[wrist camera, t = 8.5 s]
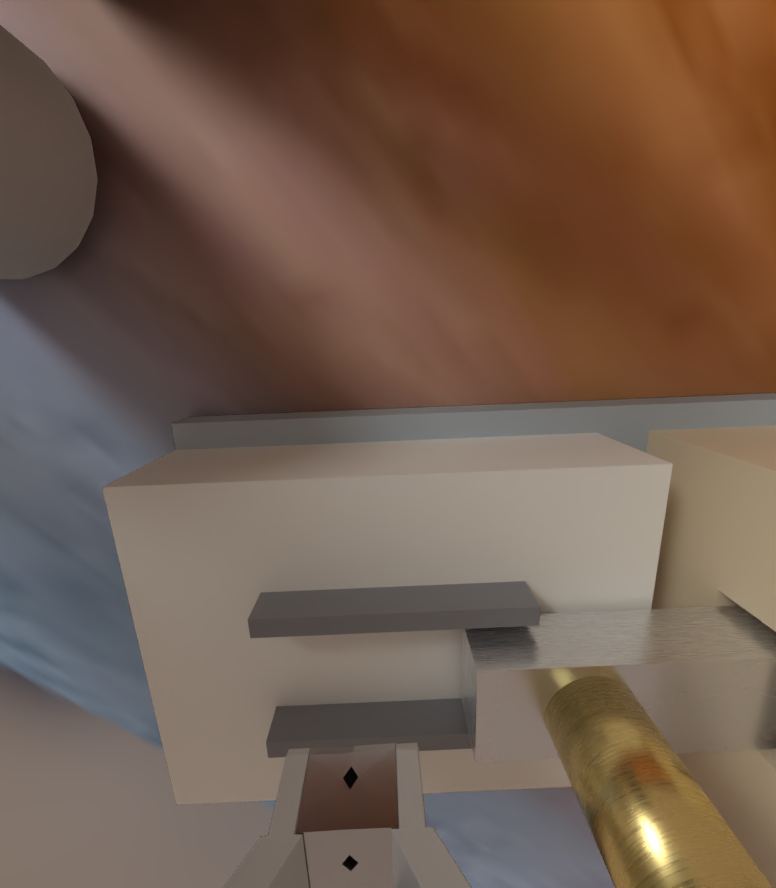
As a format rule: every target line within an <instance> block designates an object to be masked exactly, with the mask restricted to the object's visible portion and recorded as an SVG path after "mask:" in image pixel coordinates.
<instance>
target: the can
mask: <svg viewBox="0 0 776 888" xmlns="http://www.w3.org/2000/svg"><path fill="white" fill-rule="evenodd" d="M97 182H98V178H97V172H96V166H95V160H94V153H93V147H92V141H91V137H90V135H89V133H88V131H87V128H86V126H85V124H84V122H83V119H82V117H81V115H80V113H79V110H78V108H77V106H76V104H75V102H74V99H73V98H72V96H71V95H70V94H69V92H68V91H67V90H66V89H65V87H64V86H63V85H62V83H61V82H60V81H59V80H58V78H57V77H56V76H55V75H54V73H53V72H52V71H51V69H50V68H49V67H48V66H47V64H46V63H45V62H44V61H43V60H42V59H40V58H39V57H38V56H37V55H36V54H34V53H33V52H32V51H31V50H30V49H28V48H27V47H26V46H25V45H24V44H23V43H21V42H20V41H19V40H18V39H17V38H15V37H14V36H13V35H12V34H11V33H9V32H8V31H7V30H6V29H5V28H3V27H2V26H1V25H0V279H27V278H30V277H33V276H35V275H38V274H41V273H43V272H46V271H49V270H51V269H54V268H56V267H57V266H58V265H59V264H60V263H61V262H62V261H63V260H64V259H66V258H67V257H68V256H69V255H70V254H71V253H72V252H73V251H74V250H75V249H76V248H78V246H79V244H80V242H81V240H82V238H83V236H84V234H85V232H86V230H87V228H88V226H89V224H90V222H91V220H92V218H93V214H94V206H95V198H96V190H97Z"/></svg>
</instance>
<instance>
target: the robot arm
mask: <svg viewBox="0 0 776 888" xmlns="http://www.w3.org/2000/svg"><path fill="white" fill-rule="evenodd" d="M396 768H397V769H396ZM223 888H472V887H471V886H470V884H469V883H468V881H467V880H466V878H465V876H464V875H463V873H462V872H461V870H460V869H459V867H458V865H457V864H456V862H455V861H454V859H453V857H452V856H451V854H450V853H449V851H448V850H447V848H446V846H445V845H444V843H443V842H442V840H441V839H440V837H439V835H438V834H437V832H436V831H435V829H434V827H426V819H425V809H424V798H423V788H422V778H421V768H420V757H419V748H418V744H417V742H416V743H401V744H396V748H395V743H389V744H375V745H360V746H353V747H333V748H298V749H289V750H288V753H287V755H286V757H285V761H284V766H283V770H282V775H281V779H280V783H279V788H278V792H277V797H276V801H275V805H274V810H273V814H272V819H271V824H270V827H269V832H268V836H260V838H259V839H258V840H257V842H256V843H255V845H254V846H253V847H252V849H251V850H250V851H249V853H248V854H247V855H246V857H245V858H244V860H243V861H242V862H241V863H240V865H239V866H238V868H237V869H236V870H235V872H234V873H233V874H232V876H231V877H230V878H229V880H228V881H227V882H226V884H225V885H224V887H223Z"/></svg>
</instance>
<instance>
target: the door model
mask: <svg viewBox="0 0 776 888" xmlns="http://www.w3.org/2000/svg"><path fill="white" fill-rule="evenodd" d="M171 427H172V432H173V438H174V444H175V449H176V450H174V451H172V452H170V453H168V454H166V455H165V456H163V457H161V458H159V459H157V460H155V461H153V462H151V463H149V464H147V465H145V466H143V467H141V468H139V469H137V470H135V471H133V472H131V473H129V474H127V475H125V476H123V477H121V478H120V479H118V480H116V481H114V482H112V483H110V484H108V485H106V486H104V487H102V489H103V494H104V498H105V502H106V506H107V511H108V515H109V519H110V524H111V528H112V532H113V536H114V541H115V545H116V549H117V553H118V558H119V562H120V566H121V570H122V575H123V579H124V583H125V588H126V592H127V596H128V600H129V605H130V609H131V613H132V617H133V622H134V626H135V630H136V635H137V639H138V643H139V647H140V652H141V656H142V660H143V664H144V669H145V673H146V677H147V682H148V686H149V690H150V694H151V699H152V703H153V707H154V711H155V716H156V720H157V724H158V728H159V733H160V737H161V741H162V746H163V750H164V754H165V758H166V763H167V767H168V771H169V775H170V780H171V784H172V788H173V793H174V796H175V801H176V805H185V804H186V805H188V804H207V803H208V804H209V803H231V802H253V801H275V800H276V797H277V792H278V788H279V783H280V779H281V775H282V770H283V766H284V761H285V757H286V755H287V753H288V750H289V749H298V748H333V747H353V746H360V745H375V744H389V743H395V748H396V744H401V743H416V742H417V744H418V748H419V757H420V768H421V778H422V788H423V794H427V793H448V792H470V791H492V790H513V789H535V788H557V787H572V786H571V783H570V781H569V779H568V776H567V774H566V772H565V770H564V767H563V765H562V763H561V760H560V759H544V760H522V761H500V762H478V763H475V760H474V755H473V751H472V746H471V742H470V737H469V733H468V728H467V724H466V719H465V715H464V710H463V706H462V702H461V629H474V628H497V627H520V626H539V622H540V614H554V613H577V612H600V611H623V610H646V609H669V608H692V607H715V606H738V605H740V606H741V607H742V608H744V609H745V610H746V611H748V612H749V613H751V614H752V615H753V616H755V617H756V618H757V619H759V620H760V621H761V622H763V623H764V624H766V625H767V626H768V627H770V628H771V629H772V630H774V631H775V632H776V394H775V393H766V394H741V395H716V396H691V397H666V398H642V399H617V400H592V401H567V402H542V403H517V404H493V405H468V406H443V407H418V408H393V409H369V410H344V411H319V412H294V413H269V414H244V415H220V416H195V417H188V418H185V419H183V420H180V421H177V422H175V423H172V424H171ZM676 754H677V755H678V757H679V758H680V759H681V761H682V762H683V764H684V765H685V766H686V768H687V769H688V771H689V772H690V773H691V775H692V776H693V778H694V779H695V780H696V782H697V783H698V784H699V786H700V787H701V789H702V790H703V791H704V793H705V794H706V796H707V797H708V798H709V800H710V801H711V803H712V804H713V805H714V807H715V808H716V809H717V811H718V812H719V814H720V815H721V816H722V818H723V819H724V821H725V822H726V823H727V825H728V826H729V827H730V829H731V830H732V832H733V833H734V834H735V836H736V837H737V839H738V840H739V841H740V843H741V844H742V846H743V847H744V848H745V850H746V851H747V852H748V854H749V855H750V857H751V858H752V859H753V861H754V862H755V864H756V865H757V866H758V868H759V869H760V871H761V872H762V873H763V875H764V876H765V877H766V879H767V880H768V882H769V883H770V884H771V886H772V887H773V888H776V749H763V750H741V751H719V752H697V753H676ZM396 769H397V768H396Z"/></svg>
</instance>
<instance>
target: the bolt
mask: <svg viewBox="0 0 776 888" xmlns="http://www.w3.org/2000/svg"><path fill="white" fill-rule="evenodd" d="M461 702H462V706H463V710H464V715H465V719H466V724H467V728H468V733H469V737H470V742H471V746H472V751H473V755H474V760H475V763H478V762H500V761H522V760H544V759H560V760H561V763H562V765H563V767H564V770H565V772H566V774H567V776H568V779H569V781H570V783H571V786H572V788H573V790H574V793H575V795H576V797H577V800H578V802H579V804H580V807H581V809H582V811H583V814H584V816H585V818H586V821H587V823H588V825H589V828H590V830H591V832H592V835H593V837H594V839H595V842H596V844H597V846H598V849H599V851H600V853H601V855H602V858H603V860H604V862H605V865H606V867H607V869H608V872H609V874H610V876H611V879H612V881H613V883H614V886H615V888H773V887H772V886H771V884H770V883H769V882H768V880H767V879H766V877H765V876H764V875H763V873H762V872H761V871H760V869H759V868H758V866H757V865H756V864H755V862H754V861H753V859H752V858H751V857H750V855H749V854H748V852H747V851H746V850H745V848H744V847H743V846H742V844H741V843H740V841H739V840H738V839H737V837H736V836H735V834H734V833H733V832H732V830H731V829H730V827H729V826H728V825H727V823H726V822H725V821H724V819H723V818H722V816H721V815H720V814H719V812H718V811H717V809H716V808H715V807H714V805H713V804H712V803H711V801H710V800H709V798H708V797H707V796H706V794H705V793H704V791H703V790H702V789H701V787H700V786H699V784H698V783H697V782H696V780H695V779H694V778H693V776H692V775H691V773H690V772H689V771H688V769H687V768H686V766H685V765H684V764H683V762H682V761H681V759H680V758H679V757H678V755H677V754H676V753H697V752H719V751H741V750H763V749H776V632H775V631H774V630H772V629H771V628H770V627H768V626H767V625H766V624H764V623H763V622H761V621H760V620H759V619H757V618H756V617H755V616H753V615H752V614H751V613H749V612H748V611H746V610H745V609H744V608H742V607H741V606H740V605H738V606H715V607H692V608H669V609H646V610H623V611H600V612H577V613H554V614H540V622H539V626H520V627H497V628H474V629H461Z"/></svg>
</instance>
